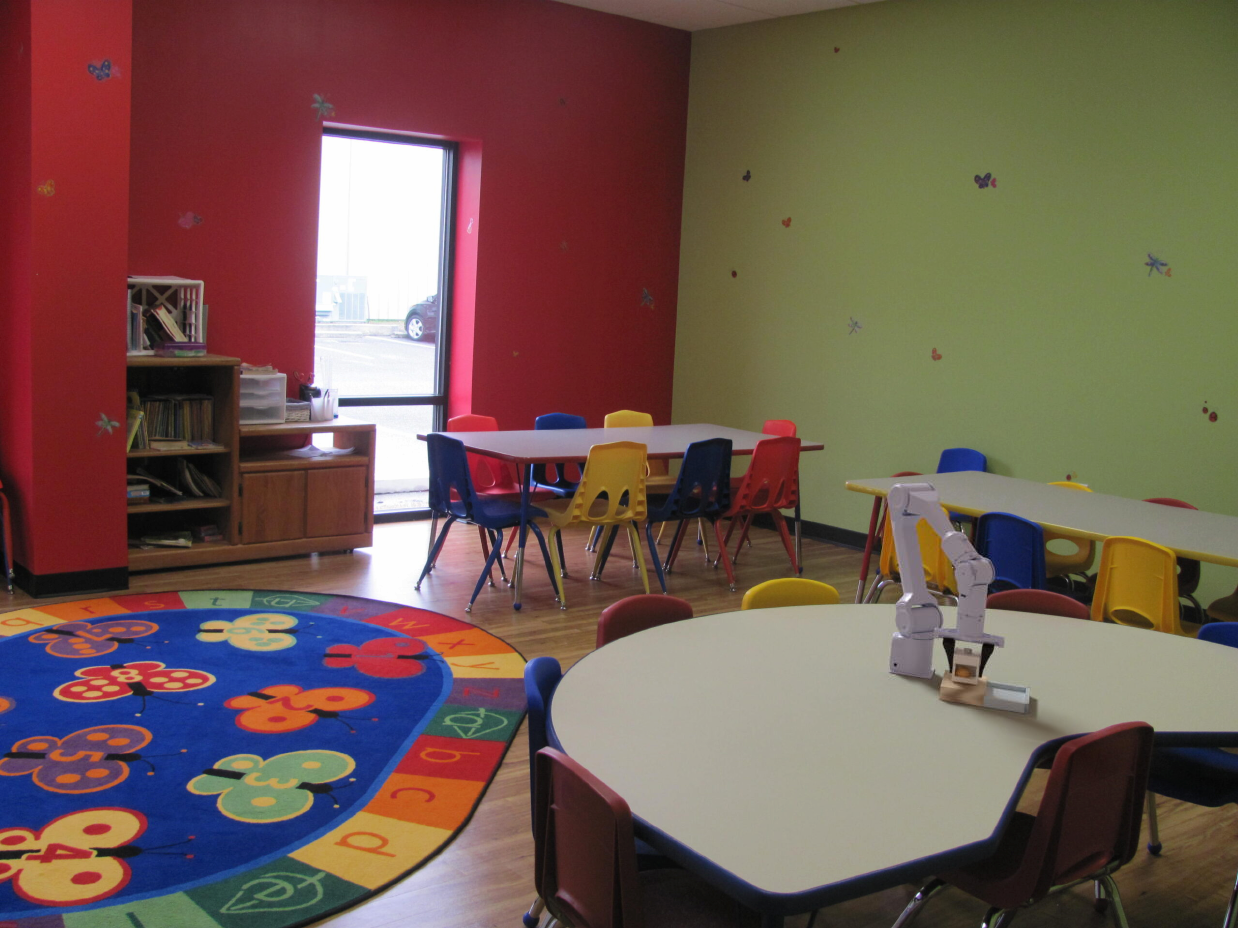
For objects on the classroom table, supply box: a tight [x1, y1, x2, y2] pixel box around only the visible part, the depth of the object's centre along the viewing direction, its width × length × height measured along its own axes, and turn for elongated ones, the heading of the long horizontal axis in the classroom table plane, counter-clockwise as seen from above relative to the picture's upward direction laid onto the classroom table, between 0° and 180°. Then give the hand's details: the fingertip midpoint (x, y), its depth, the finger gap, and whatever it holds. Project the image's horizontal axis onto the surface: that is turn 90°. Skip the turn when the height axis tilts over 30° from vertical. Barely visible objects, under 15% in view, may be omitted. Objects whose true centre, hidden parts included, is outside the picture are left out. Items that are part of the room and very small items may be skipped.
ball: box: [955, 667, 970, 678], centre depth 237 cm, size 3×3×3 cm
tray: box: [982, 680, 1031, 715], centre depth 234 cm, size 9×12×2 cm
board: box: [938, 669, 988, 707], centre depth 238 cm, size 9×12×3 cm
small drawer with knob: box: [951, 646, 981, 685], centre depth 237 cm, size 5×5×7 cm
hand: (965, 674), depth 237 cm, fingers closed on small drawer with knob, 5 cm apart
